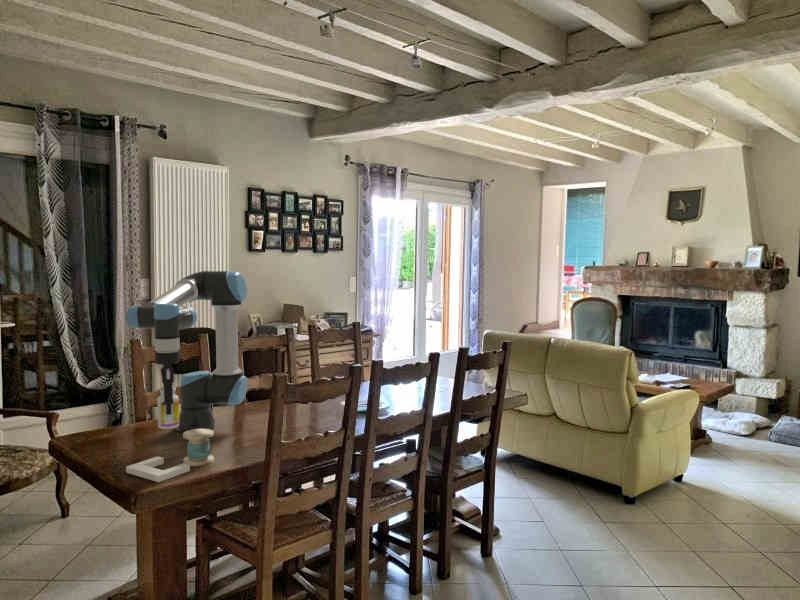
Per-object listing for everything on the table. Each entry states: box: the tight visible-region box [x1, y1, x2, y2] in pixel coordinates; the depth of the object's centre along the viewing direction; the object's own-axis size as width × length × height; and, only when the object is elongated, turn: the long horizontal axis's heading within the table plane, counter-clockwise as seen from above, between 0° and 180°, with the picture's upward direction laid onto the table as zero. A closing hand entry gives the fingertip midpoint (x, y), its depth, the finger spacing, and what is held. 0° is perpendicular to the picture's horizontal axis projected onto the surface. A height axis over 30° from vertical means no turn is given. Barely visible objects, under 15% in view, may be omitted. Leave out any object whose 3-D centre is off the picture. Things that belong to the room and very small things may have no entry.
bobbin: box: [182, 429, 215, 467], centre depth 205 cm, size 10×10×10 cm
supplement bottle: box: [156, 386, 180, 430], centre depth 194 cm, size 7×7×13 cm
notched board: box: [125, 456, 191, 483], centre depth 194 cm, size 12×16×2 cm
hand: (168, 420), depth 194 cm, fingers closed on supplement bottle, 7 cm apart
